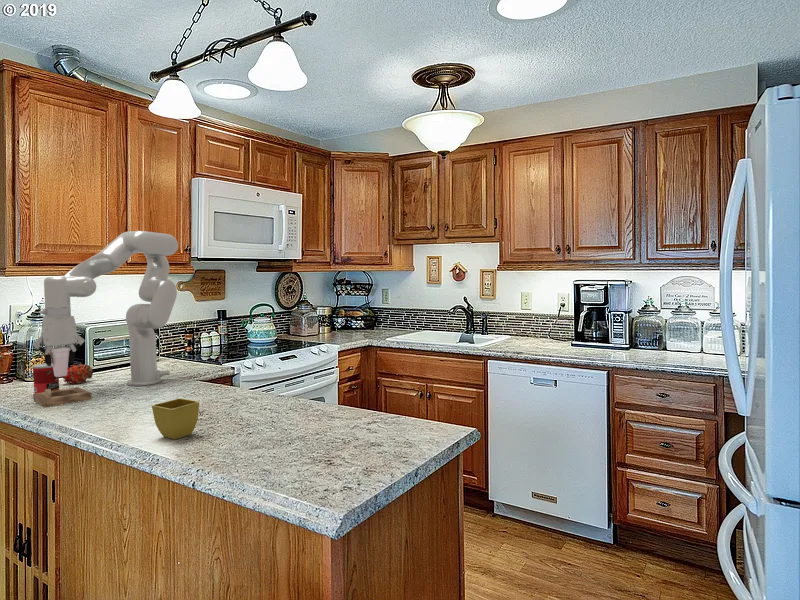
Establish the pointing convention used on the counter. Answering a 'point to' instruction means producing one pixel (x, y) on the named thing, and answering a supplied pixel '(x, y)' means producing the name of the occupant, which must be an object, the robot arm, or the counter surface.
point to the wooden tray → (61, 396)
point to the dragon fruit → (78, 373)
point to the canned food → (44, 378)
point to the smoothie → (60, 360)
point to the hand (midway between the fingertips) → (60, 363)
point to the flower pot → (176, 417)
